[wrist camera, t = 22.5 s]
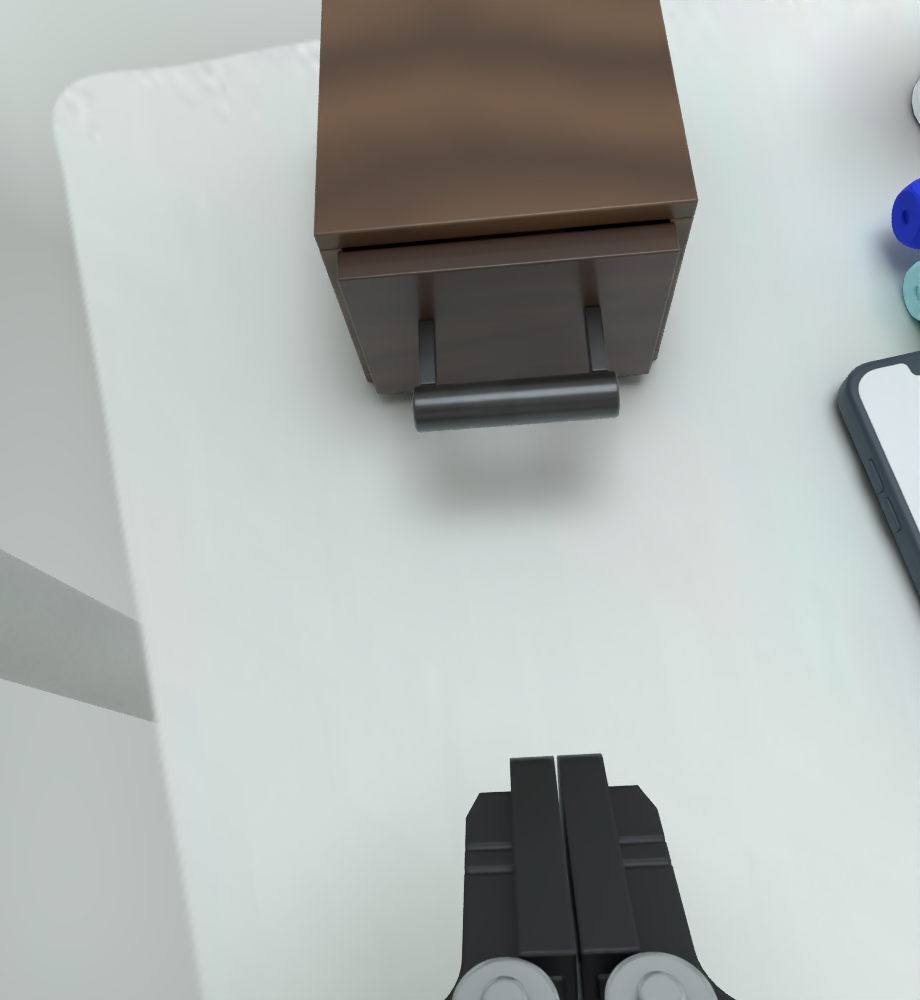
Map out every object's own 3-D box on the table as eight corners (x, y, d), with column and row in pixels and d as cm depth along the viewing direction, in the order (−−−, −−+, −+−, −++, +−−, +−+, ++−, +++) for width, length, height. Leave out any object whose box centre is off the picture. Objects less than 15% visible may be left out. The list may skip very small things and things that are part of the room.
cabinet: (657, 359, 35) (698, 200, 26) (367, 382, 36) (313, 235, 27) (618, 108, 41) (642, -94, 32) (368, 132, 41) (323, -58, 32)
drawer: (663, 468, 32) (700, 364, 25) (377, 488, 33) (334, 392, 26) (612, 129, 39) (631, -30, 32) (376, 152, 40) (342, 1, 32)
